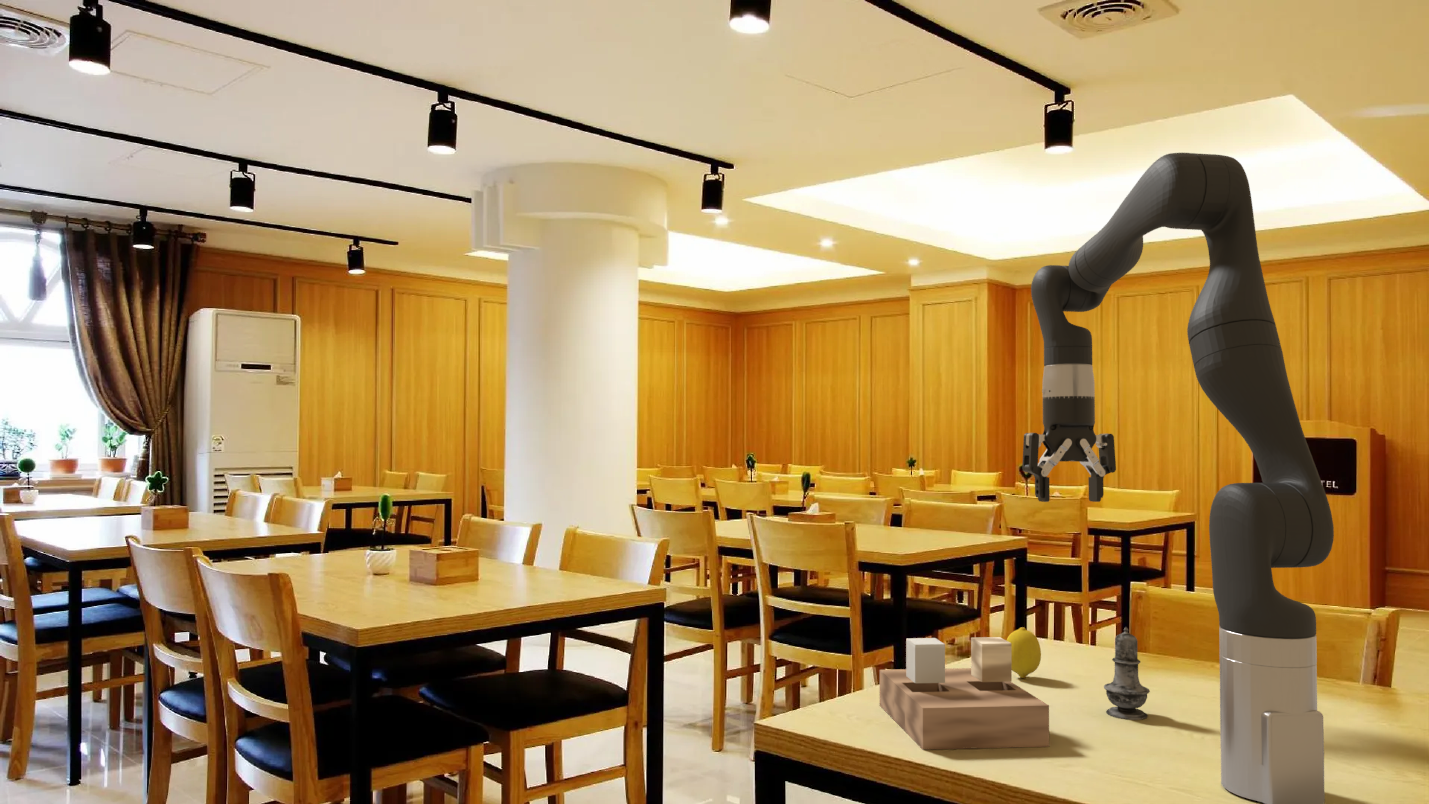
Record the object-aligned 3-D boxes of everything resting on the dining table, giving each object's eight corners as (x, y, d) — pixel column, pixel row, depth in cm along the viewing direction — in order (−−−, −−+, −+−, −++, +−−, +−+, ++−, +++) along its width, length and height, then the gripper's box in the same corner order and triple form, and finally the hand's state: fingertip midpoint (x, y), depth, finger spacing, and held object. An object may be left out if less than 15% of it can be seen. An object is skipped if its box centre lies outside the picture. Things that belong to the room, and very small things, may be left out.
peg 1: (945, 682, 129) (944, 644, 130) (915, 683, 129) (915, 644, 129) (935, 675, 133) (935, 638, 134) (906, 675, 133) (906, 638, 133)
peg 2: (1011, 681, 130) (1011, 643, 130) (982, 682, 130) (982, 643, 130) (999, 674, 134) (999, 637, 134) (971, 674, 134) (971, 637, 134)
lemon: (997, 676, 159) (997, 625, 159) (1024, 672, 161) (1023, 623, 161) (1021, 683, 154) (1021, 631, 154) (1048, 680, 156) (1048, 629, 156)
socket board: (1049, 746, 122) (1049, 705, 122) (922, 749, 121) (922, 708, 121) (988, 703, 142) (988, 667, 142) (879, 705, 141) (879, 669, 141)
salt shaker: (1154, 721, 133) (1153, 631, 134) (1108, 718, 135) (1107, 629, 135) (1144, 709, 139) (1143, 623, 140) (1100, 707, 140) (1099, 622, 141)
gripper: (1038, 393, 147) (1039, 503, 146) (1125, 394, 149) (1126, 502, 149) (1013, 395, 154) (1014, 500, 153) (1096, 397, 157) (1097, 500, 156)
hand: (1069, 501), depth 151 cm, fingers open, 8 cm apart
